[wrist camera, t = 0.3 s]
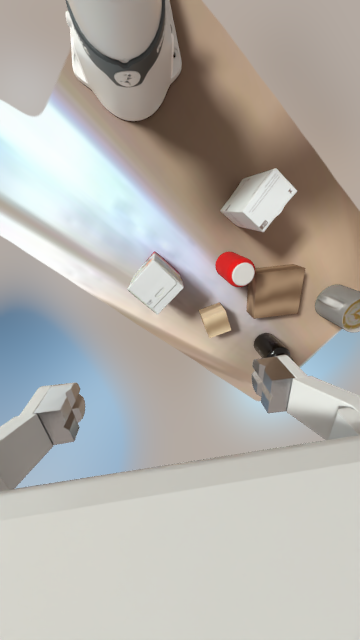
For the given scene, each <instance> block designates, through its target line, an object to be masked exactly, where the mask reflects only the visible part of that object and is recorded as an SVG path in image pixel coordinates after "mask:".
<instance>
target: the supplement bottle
mask: <svg viewBox="0 0 360 640" xmlns="http://www.w3.org/2000/svg"><path fill="white" fill-rule="evenodd" d="M254 348H255V350H256V351H257V352H258V353H259V355H260V356H261V357H262V358H269V357H275V356H280V355H287V356H288V357H289V358H290V359H291V360H292V361H293V359H292V358H291V357H290V352H289V350H288V349H287V348H286V347H285V346H284V345H283V344H282V343H281V342H280V341H279V340H278V339H277V338H276V337H274V336H273V335H272V334H270V333H263V334H261V335H259V336H258V337H257V338H256V339H255V341H254ZM293 362H294V361H293Z"/></svg>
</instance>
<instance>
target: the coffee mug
mask: <svg viewBox="0 0 360 640" xmlns="http://www.w3.org/2000/svg"><path fill="white" fill-rule="evenodd" d="M315 309H316V312H317V313H318V314H319V315H320V316H322V317H324V318H325V319H327V320H329V321H330V322H332V323H334V324H336V325H337V326H339V327H341V328H342V329H344V330H346V331H348V332H359V331H360V292H359V291H356V290H354V289H351V288H348V287H345V286H342V285H332V286H329V287H328V288H326V289H324V290H323V291H322V292H321V293H320V295H319V296H318V297H317V300H316V303H315Z"/></svg>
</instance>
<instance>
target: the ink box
mask: <svg viewBox="0 0 360 640" xmlns="http://www.w3.org/2000/svg"><path fill="white" fill-rule="evenodd" d="M183 288H184V285H183V282H182V280H181V277H180V274H179V273H178V272H177V271H176V270H175V269H174V268H173V267H172V266H171V265H170V264H169V263H168V262H166V261H165V260H164V259H163V258H162V257H161V256H160V255H159V254H157V253H156V252H153V254H152V255H151V256H150V257H149V258H148V260H147V261H146V262H145V263H144V264H143V265H142V267H141V268H140V269H139V270H138V271H137V273H136V274H135V275H134V276H133V279H132V281H131V283H130V285H129V287H128V291H129V292H130V293H131V294H133V295H134V296H135V297H136V298H137V299H138V300H140V301H141V302H142V303H144V304H145V305H146V306H147V307H148V308H150V309H151V310H152V311H153V312H155V313H156V314H159V313H160V312H161V311H162V310H163V309H164V308H165V307H166V306H167V305H168V303H169V302H170V301H171V300H172V299H173V298H174V297H175V296H176V295H177V294H178V293H179V292H180V291H181V290H182V289H183Z"/></svg>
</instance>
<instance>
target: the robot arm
mask: <svg viewBox="0 0 360 640" xmlns="http://www.w3.org/2000/svg"><path fill="white" fill-rule="evenodd" d="M66 4H67V7H68V11H66V20H67V24H68V27H70V34H71V50H72V65H73V70H74V73H75V76H76V77H77V79H78V80H79V81H80V82H82V83H83V84H84V85H86V86H87V87H89V88H90V89H91V90H92V91H93V92H94V93H95V95H96V96H97V97H98V99H99V100H100V102H101V103H102V104H103V105H104V107H105V108H106V109H107V110H109V111H110V112H111V113H112V114H114V115H115V116H117V117H119V118H121V119H124V120H128V121H139V120H143V119H145V118H147V117H149V116H151V115H152V114H153V113H154V112H155V111H156V110H157V109H158V108H159V107H160V105H161V104H162V102H163V100H164V98H165V95H166V93H167V90H168V88H169V86H170V84H171V83H172V82H173V81H174V80H175V79H176V78H177V77H178V76H179V74H180V72H181V69H182V61H181V56H180V51H179V46H178V41H177V35H176V30H175V25H174V20H173V15H172V10H171V5H170V0H66ZM173 54H174V55H175V58H173ZM253 368H254V370H255V371H254V372H253V373H252V384H253V388H254V390H255V392H256V394H257V395H259V396H261V403H262V404H263V406H264V407H265V409H266V411H267V413H274V412H283V411H287V413H289V414H290V415H292V416H293V417H295V418H296V419H297V420H299V421H300V422H302V423H303V424H304V425H306V426H307V427H308V428H310V429H311V430H313V431H314V432H316V433H317V434H318V435H320V436H321V437H322V438H324V439H325V441H318V442H312V443H305V444H300V445H293V446H286V447H280V448H273V449H267V450H261V451H254V452H248V453H242V454H235V455H228V456H222V457H216V458H210V459H203V460H197V461H190V462H184V463H177V464H171V465H165V466H158V467H152V468H145V469H139V470H133V471H127V472H120V473H113V474H107V475H101V476H94V477H87V478H81V479H75V480H69V481H62V482H55V483H49V484H43V485H36V486H30V487H24V488H17V489H15V488H16V486H17V485H18V484H19V483H20V482H21V481H22V480H23V479H24V478H25V477H26V475H27V474H28V473H29V472H30V471H31V470H32V469H33V468H34V467H35V466H36V465H37V463H38V462H39V461H40V460H41V459H42V458H43V457H44V456H45V455H46V454H47V453H48V451H49V450H50V449H51V448H52V447H53V445H57V444H63V443H68V442H74V441H75V438H76V435H77V433H78V429H79V425H78V422H80V421H81V419H83V416H84V413H85V401H84V398H83V397H82V396H81V395H80V394H79V391H80V387H79V385H78V384H77V383H68V384H59V385H53V386H52V385H51V386H42V387H40V388H38V390H37V391H36V393H35V394H34V395H33V397H32V398H31V400H30V401H29V403H28V404H27V406H26V407H25V408H24V410H23V411H22V413H21V414H20V415H19V416H16V417H14V418H12V419H11V420H10V421H8V422H7V423H5V424H4V425H2V426H1V427H0V640H360V396H358V395H355V394H353V393H350V392H348V391H346V390H344V389H341V388H339V387H336V386H334V385H332V384H329V383H327V382H324V381H322V380H320V379H317V378H315V377H313V376H307V375H306V374H305V373H304V372H303V371H302V370H301V369H300V368H299V367H298V366H297V365H296V364H295V363H294V362H293V361H292V360H291V359H290V358H289V357H288V356H287V355H280V356H275V357H269V358H261V359H254V361H253Z"/></svg>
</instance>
